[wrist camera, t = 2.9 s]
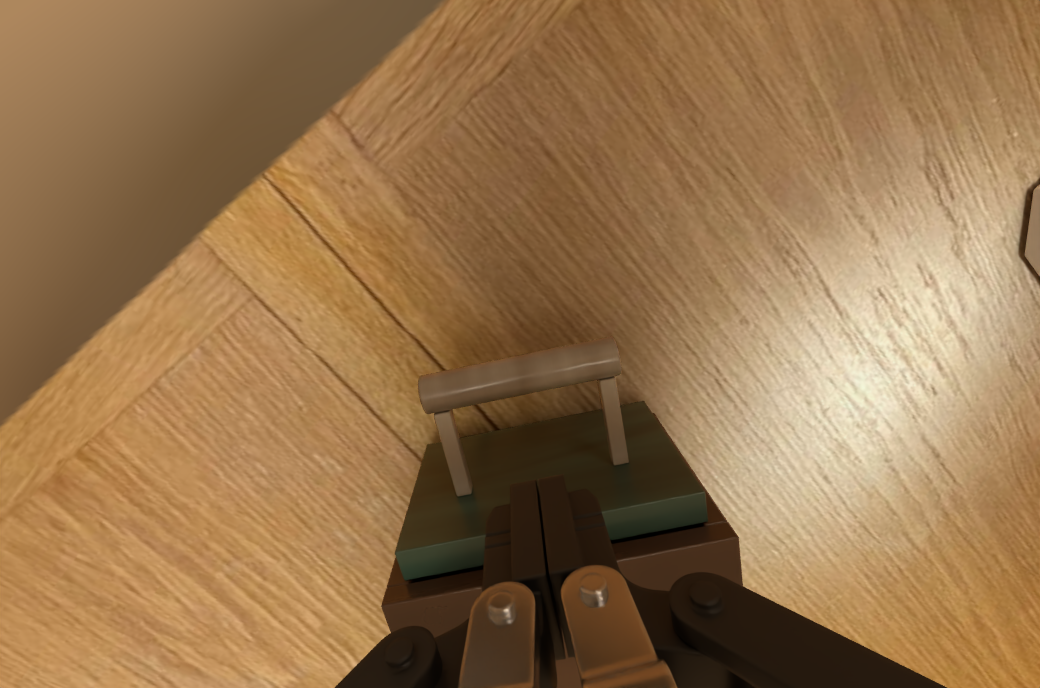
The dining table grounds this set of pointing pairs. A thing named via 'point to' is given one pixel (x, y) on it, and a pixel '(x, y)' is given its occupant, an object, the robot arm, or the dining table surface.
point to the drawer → (540, 459)
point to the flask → (1034, 233)
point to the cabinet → (638, 560)
